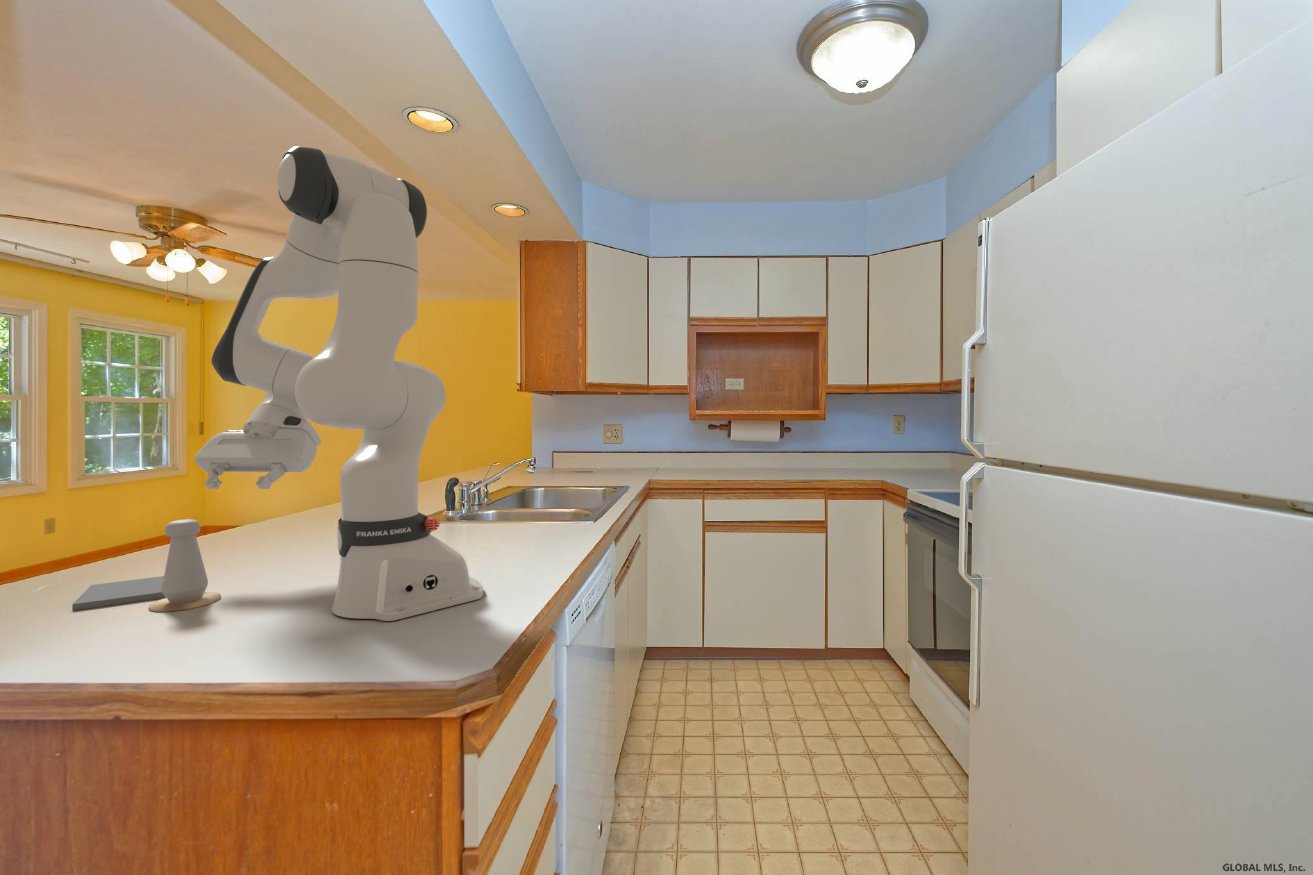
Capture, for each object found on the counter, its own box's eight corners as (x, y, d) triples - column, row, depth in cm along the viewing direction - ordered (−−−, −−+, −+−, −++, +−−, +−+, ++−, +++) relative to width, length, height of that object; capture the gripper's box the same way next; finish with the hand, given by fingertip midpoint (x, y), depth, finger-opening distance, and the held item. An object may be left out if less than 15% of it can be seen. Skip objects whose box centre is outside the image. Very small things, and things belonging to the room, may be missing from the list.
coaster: (222, 590, 99) (222, 588, 99) (219, 604, 91) (219, 602, 91) (153, 600, 94) (153, 598, 94) (144, 616, 86) (144, 614, 86)
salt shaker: (214, 598, 93) (211, 519, 93) (170, 608, 89) (167, 525, 88) (199, 592, 97) (196, 515, 96) (156, 602, 92) (152, 521, 91)
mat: (181, 579, 105) (181, 573, 105) (173, 596, 96) (173, 590, 96) (91, 590, 99) (91, 585, 99) (72, 610, 89) (72, 604, 89)
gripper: (210, 419, 111) (168, 475, 101) (315, 419, 110) (282, 476, 101) (229, 441, 115) (190, 497, 106) (329, 441, 115) (299, 497, 105)
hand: (236, 487), depth 103 cm, fingers open, 8 cm apart
